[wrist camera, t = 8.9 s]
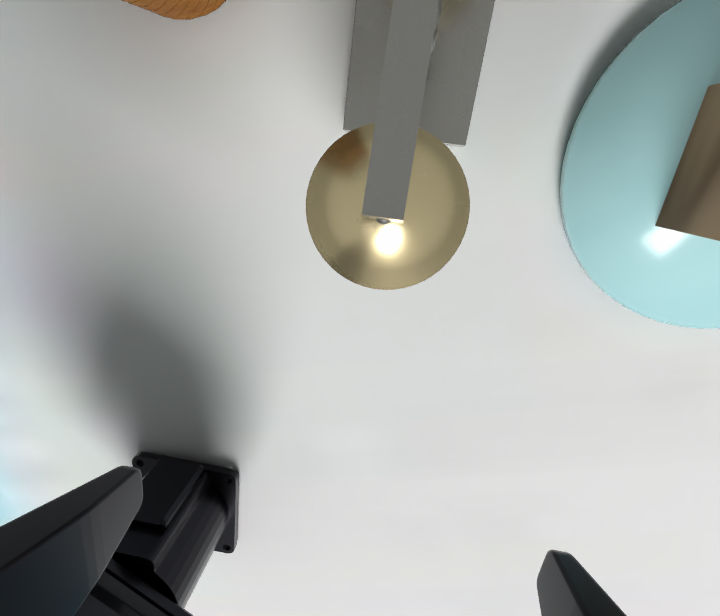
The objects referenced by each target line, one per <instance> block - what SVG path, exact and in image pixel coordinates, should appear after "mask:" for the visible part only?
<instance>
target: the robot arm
mask: <svg viewBox="0 0 720 616" xmlns="http://www.w3.org/2000/svg"><path fill="white" fill-rule="evenodd" d="M132 464H133V467H129V466H120V467H117V468H115V469H113V470H111V471H109V472H107V473H105V474H103V475H101V476H99V477H97V478H95V479H93V480H91V481H90V482H88V483H86V484H84V485H82V486H80V487H78V488H76V489H74V490H72V491H70V492H68V493H66V494H64V495H62V496H60V497H58V498H56V499H54V500H52V501H50V502H48V503H46V504H44V505H42V506H40V507H38V508H36V509H34V510H32V511H30V512H28V513H26V514H24V515H22V516H20V517H19V518H17V519H15V520H13V521H11V522H9V523H7V524H5V525H3V526H1V527H0V616H193V615H192V614H190V613H189V612H188V611H186V610H185V609H184V607H185V605H186V604H187V602H188V600H189V598H190V596H191V594H192V592H193V590H194V588H195V586H196V584H197V582H198V580H199V578H200V576H201V574H202V572H203V570H204V569H205V567H206V565H207V563H208V561H209V559H210V557H211V555H212V553H213V551H219V552H223V553H232V552H233V551H234V549H235V547H236V545H237V519H238V483H239V476H238V474H237V472H236V471H234V470H232V469H228V468H223V467H218V466H213V465H208V464H202V463H197V462H192V461H187V460H182V459H177V458H172V457H166V456H161V455H156V454H151V453H146V452H140V453H138V454H137V455H136V456H135V457H134V458H133V460H132ZM228 477H229V478H228ZM230 478H231V479H230ZM537 590H538V596H539V602H540V608H541V615H542V616H626V615H625V613H624V612H623V611H622V610H621V609H620V608H619V607H618V606H617V604H616V603H615V602H614V601H613V600H612V599H611V598H610V597H609V596H608V594H607V593H606V592H605V591H604V590H603V589H602V588H601V587H600V586H599V584H598V583H597V582H596V581H595V580H594V579H593V578H592V577H591V575H590V574H589V573H588V572H587V571H586V570H585V569H584V568H583V567H582V565H581V564H580V563H579V562H578V561H577V560H576V559H575V558H574V557H573V556H572V555H571V554H569V553H567V552H562V551H557V550H550V551H548V552H547V554H546V557H545V559H544V562H543V564H542V567H541V569H540V572H539V574H538V578H537Z"/></svg>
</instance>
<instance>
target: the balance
mask: <svg viewBox="0 0 720 616" xmlns="http://www.w3.org/2000/svg"><path fill="white" fill-rule="evenodd" d="M494 2H495V0H357V1H356V10H355V20H354V30H353V39H352V49H351V59H350V68H349V78H348V88H347V97H346V107H345V117H344V126H343V130H345V131H348V133H347V134H345V135H343V136H342V137H341V138H339V139H338V140H337V141H335V142H334V143H333V144H332V145H331V146H330V147H329V148H328V149H327V151H326V152H325V153H324V154H323V156H322V157H321V158H320V160H319V162H318V164H317V165H316V167H315V169H314V171H313V174H312V176H311V178H310V182H309V186H308V190H307V197H306V216H307V223H308V227H309V231H310V234H311V237H312V239H313V242H314V244H315V246H316V248H317V250H318V251H319V253H320V254H321V256H322V257H323V258H324V260H325V261H326V262H327V263H328V264H329V265H330V266H331V267H332V268H333V269H334V270H335V271H336V272H337V273H339V274H340V275H342V276H343V277H345V278H346V279H348V280H350V281H352V282H354V283H356V284H359V285H362V286H365V287H369V288H373V289H383V290H390V289H400V288H405V287H409V286H412V285H415V284H418V283H420V282H422V281H424V280H426V279H428V278H429V277H431V276H433V275H434V274H435V273H437V272H438V271H439V270H440V269H441V268H442V267H443V266H444V265H445V264H446V263H447V262H448V261H449V260H450V259H451V258H452V256H453V255H454V254H455V252H456V250H457V249H458V247H459V245H460V244H461V241H462V239H463V237H464V234H465V231H466V228H467V224H468V219H469V212H470V199H469V190H468V186H467V182H466V178H465V175H464V173H463V170H462V168H461V166H460V164H459V162H458V161H457V159H456V157H455V156H454V155H453V153H452V152H451V151H450V150H449V148H448V147H447V146H446V145H445V144H447V145H455V146H462V147H463V146H465V145H466V140H467V135H468V130H469V125H470V120H471V115H472V110H473V105H474V100H475V95H476V90H477V86H478V81H479V76H480V71H481V66H482V61H483V56H484V51H485V46H486V41H487V36H488V31H489V26H490V22H491V17H492V12H493V7H494Z"/></svg>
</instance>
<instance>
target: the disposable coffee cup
mask: <svg viewBox="0 0 720 616" xmlns="http://www.w3.org/2000/svg"><path fill="white" fill-rule="evenodd" d="M122 1H125V2H128V3H130V4H133V5H136V6H139V7H141V8H143V9H146V10H150V11H151V12H154V13H157V14H159V15H161V16H164V17H168V18H172V19H194V18H197V17H201V16H204V15H207V14H209V13H211V12H213V11H214V10H216V9H218V8H219V7H220V6H221V5H222V4H223V3H224V2H225V1H226V0H122Z"/></svg>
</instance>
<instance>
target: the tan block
mask: <svg viewBox="0 0 720 616" xmlns="http://www.w3.org/2000/svg"><path fill="white" fill-rule="evenodd" d="M655 226H657V227H662V228H666V229H670V230H675V231H679V232H683V233H687V234H692V235H696V236H700V237H704V238H709V239H713V240H717V241H720V83H718V84H714V85H710V86H708V88H707V91H706V94H705V96H704V99H703V101H702V104H701V107H700V109H699V112H698V115H697V117H696V120H695V122H694V125H693V128H692V130H691V133H690V136H689V138H688V141H687V143H686V146H685V149H684V151H683V154H682V156H681V159H680V162H679V164H678V167H677V170H676V172H675V175H674V177H673V180H672V183H671V185H670V188H669V191H668V193H667V196H666V198H665V201H664V204H663V206H662V209H661V211H660V214H659V217H658V219H657V222H656V225H655Z"/></svg>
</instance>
